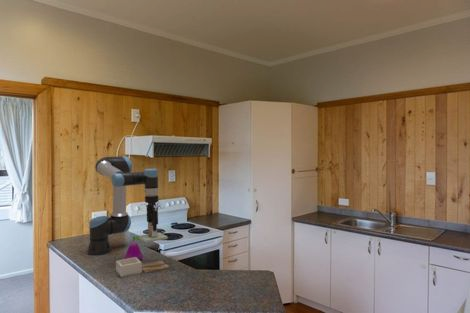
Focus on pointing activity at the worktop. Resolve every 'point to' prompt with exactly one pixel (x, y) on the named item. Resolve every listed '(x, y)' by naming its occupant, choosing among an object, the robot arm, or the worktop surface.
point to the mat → (154, 266)
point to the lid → (149, 236)
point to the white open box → (128, 267)
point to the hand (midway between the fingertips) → (152, 235)
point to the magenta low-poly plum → (134, 250)
